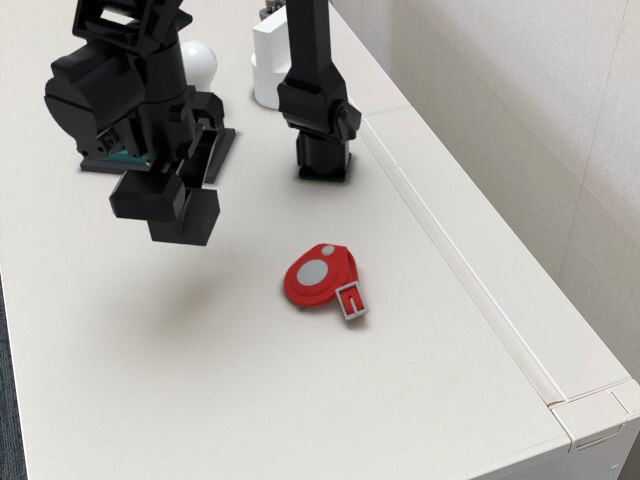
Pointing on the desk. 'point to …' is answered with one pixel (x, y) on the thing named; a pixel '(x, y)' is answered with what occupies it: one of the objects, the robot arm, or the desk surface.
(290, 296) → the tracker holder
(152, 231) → the black block
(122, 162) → the black teal stepped tray
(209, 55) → the lightbulb
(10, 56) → the desk surface
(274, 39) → the base with upright slab
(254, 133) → the desk surface
